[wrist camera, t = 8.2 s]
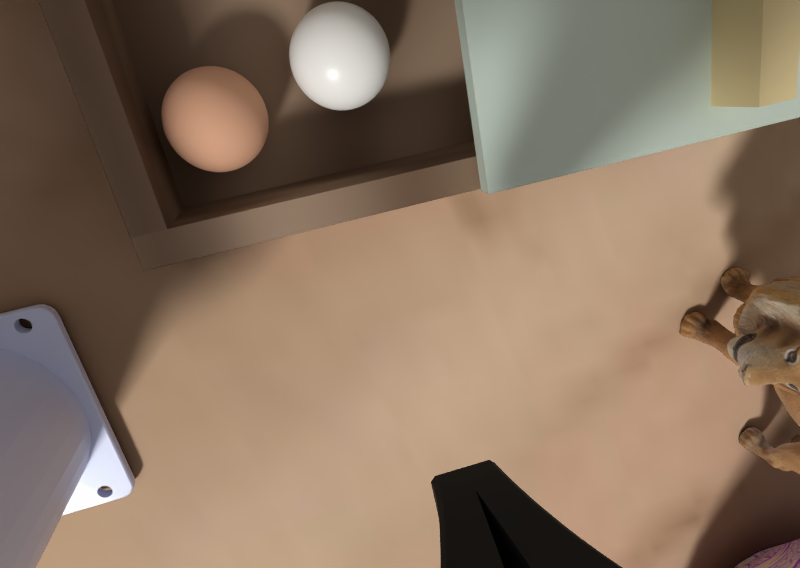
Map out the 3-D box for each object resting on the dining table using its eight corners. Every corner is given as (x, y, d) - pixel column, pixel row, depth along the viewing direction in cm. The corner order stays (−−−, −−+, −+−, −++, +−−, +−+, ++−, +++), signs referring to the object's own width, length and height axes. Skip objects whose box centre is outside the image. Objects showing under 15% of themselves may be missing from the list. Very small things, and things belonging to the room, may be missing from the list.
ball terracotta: (189, 175, 18) (173, 189, 15) (157, 79, 17) (133, 75, 14) (279, 154, 18) (280, 165, 16) (253, 59, 17) (250, 52, 14)
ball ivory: (301, 118, 18) (306, 121, 15) (276, 19, 17) (277, 4, 14) (388, 99, 18) (409, 99, 16) (370, 1, 17) (388, -17, 15)
